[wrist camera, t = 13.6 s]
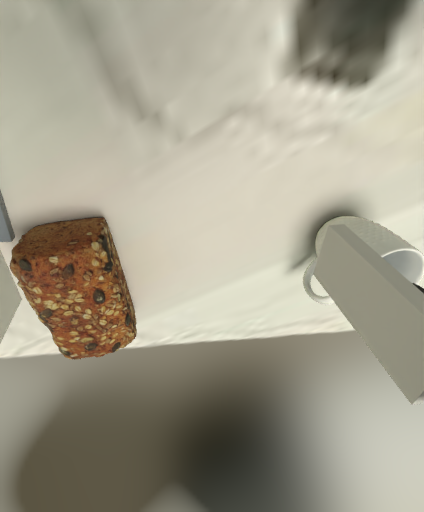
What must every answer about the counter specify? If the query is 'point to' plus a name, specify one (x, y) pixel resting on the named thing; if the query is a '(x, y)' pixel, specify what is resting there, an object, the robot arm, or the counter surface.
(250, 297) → the counter surface
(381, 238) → the mug
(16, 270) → the bread
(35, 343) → the counter surface
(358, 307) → the robot arm
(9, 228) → the post base
